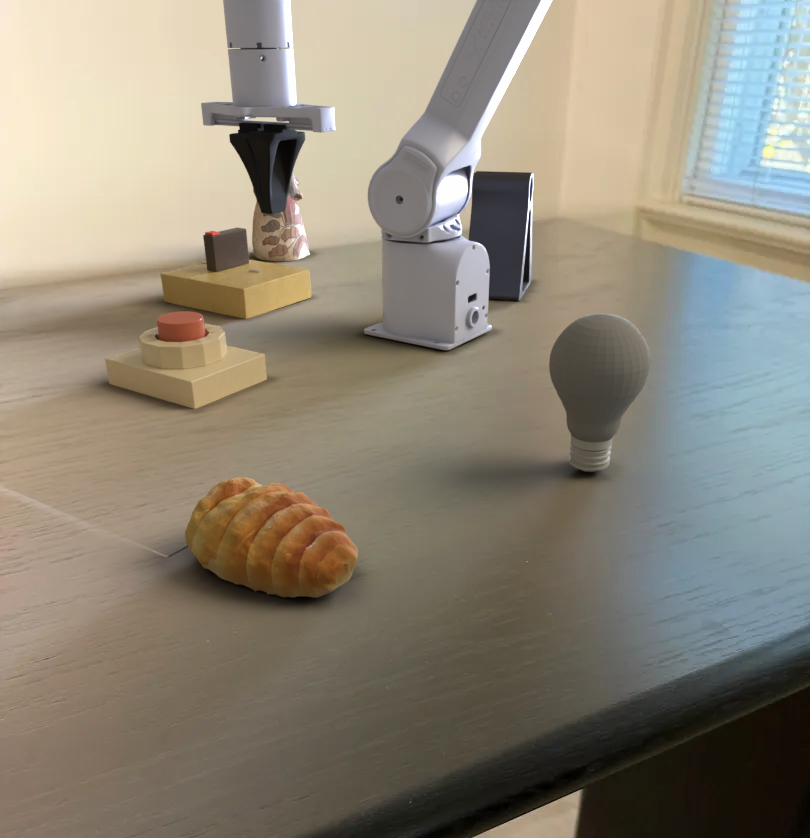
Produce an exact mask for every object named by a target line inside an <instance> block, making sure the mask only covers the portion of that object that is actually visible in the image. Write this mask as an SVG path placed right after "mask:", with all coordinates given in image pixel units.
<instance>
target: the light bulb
mask: <svg viewBox="0 0 810 838" xmlns="http://www.w3.org/2000/svg"><path fill="white" fill-rule="evenodd" d="M651 363H652V362H651V354H650V349H649V346H648V343H647V340H646V339H645V337H644V336H643V334H642V333H641V332H640V330H639V329H638V328H637V326H636V325H635V324H633V322H631V321H630V320H629V319H626V318H624V317H622V316H620V315H617V314H614V313H605V312H597V313H591V314H587V315H584V316H581V317H579V318H577V319H576V320H574V321H572V322H571V323H570V324H569V325H567V327H566V328H564V329H563V330H562V332H561V333H560V334H559V336H558V337H557V338H556V340H555V341H554V343H553V345H552V348H551V350H550V355H549V363H548V368H549V376H550V379H551V383H552V385H553V387H554V389H555V391H556V394H557V397H558V398H559V399H560V402H561V403H562V406H563V408H564V411H565V415H566V426H567V429H568V432H569V434H570V446H569V450H570V451H569V457H568V463H569V464H570V465H571V466H572V467H573V468H576V469H578V470H580V471H582V472H585V473H593V472H594V473H595V472H597V471H600V470H601V471H602V470H604V469H607V468H608V467H609V466H610V464H611V454H612V451H611V450H612V445H613V440H614V437H615V435H617V433H618V431H619V430H620V427H621V426H620V425H621V423H622V418H623V416H624V415H625V413H626V412H627V410H628V409H629V407H630V406H631V404H632V403H634V401H635V400H636V398H637V397H638V396H639V394H640V393H641V392H642V391H643V388H644V387H645V384H646V383H647V380H648V379H649V378H648V377H649V374H650V370H651Z"/></svg>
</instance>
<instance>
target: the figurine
mask: <svg viewBox="0 0 810 838" xmlns="http://www.w3.org/2000/svg"><path fill="white" fill-rule="evenodd" d="M299 186H300V181H299V179H298V178H297V177H296V176H295V171H294V170H293V172H292V176H291V180H290V185H289V190H288V197H287V203H286V210H285V211H284V212H280V213H275V214H266V213H261V210H260V206H259V203H258V200H257V197H256V194H255V191H254V188H253V187H252V192H253V194H254V197H255V199H256V202H255V207H254V211H253V216H252V233H251V243H252V244H251V245H252V252H253V255H254V258H256V259H258V260H261V261H265V262H290V261H298V260H301V259H303V258H306V257H307V256H310V255H311V253H310V249H309V242H308V239H307V234H306V230H305V226H304V222H303V218H302V213H301V209H300V207H299V201H300V200H303V193H301V192H300V190H299Z"/></svg>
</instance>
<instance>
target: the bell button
mask: <svg viewBox="0 0 810 838" xmlns="http://www.w3.org/2000/svg"><path fill="white" fill-rule="evenodd" d="M155 320H156V327H158V334H159V340H161V341H165V342H185V341H193V340H197V339H200V338H203V337H206V335H205V327H204V323H205V319H204V315H203V314H202V313H200V312H197V311H188V310H187V311H183V310H182V311H173V312H168V313H163V314H161V315H159V316H158V317H156V319H155Z"/></svg>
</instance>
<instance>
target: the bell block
mask: <svg viewBox="0 0 810 838" xmlns="http://www.w3.org/2000/svg"><path fill="white" fill-rule="evenodd" d="M204 327H205V335H206V337H203V338H200V339H197V340H193V341H185V342H165V341H161V340H159V334H158V327H157V326H156V327H153V328H150V329H147V330H145V331H144V332H142V333H141V334H140V335H139V336H138V341H139V347H135V348H132V349H130V350H127V351H124V352H121V353H117V354H114V355H111V356H108V357H105V358H104V362H105V368H106V372H107V378H108V379H107V380H108V383H109V385H112V386H113V387H114V386H115V387H117V388H118V387H119V388H120V389H125V390H129V391H132V392H135V393H138V394H142V395H146V396H149V397H152V398H155V399H158V400H162V401H166V402H169V403H173V404H176V405H180V406H183V407H186V408H189V409H192V410H196V409H199V408H202V407H203V406H206V405H209V404H212V403H214V402H216V401H218V400H221V399H223V398H226V397H228V396H230V395H233V394H235V393H238V392H240V391H243V390H245V389H247V388H250V387H253V386H255V385H257V384H260V383H262V382H264V381H265V382H266V381H267V380H268V375H267V363H266V354H265V353H261V352H257V351H252V350H248V349H244V348H241V347H236V346H233V345H232V346H231V345H227V338H226V331H225V330H224V329H223V328H222V327H221V326H220V325H216V324H210V323H206V322H204Z"/></svg>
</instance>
